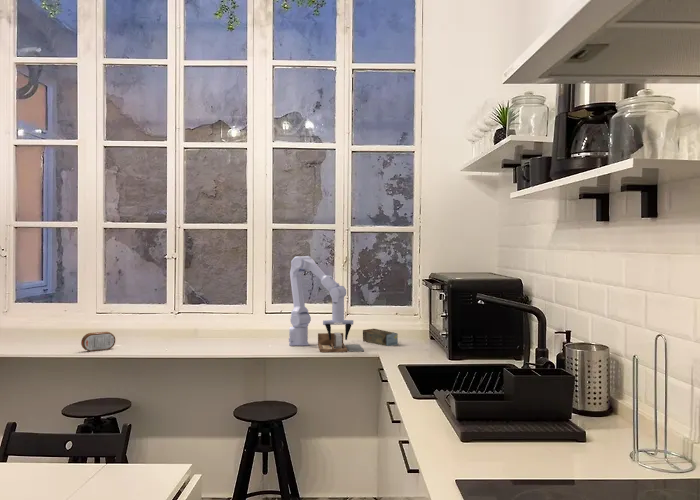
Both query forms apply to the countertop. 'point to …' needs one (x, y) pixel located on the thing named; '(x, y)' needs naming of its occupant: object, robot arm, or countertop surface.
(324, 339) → the rack
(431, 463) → the countertop surface
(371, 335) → the beverage carton
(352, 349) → the mat
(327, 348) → the offcut top
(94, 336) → the tin
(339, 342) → the shiny grey metal block
